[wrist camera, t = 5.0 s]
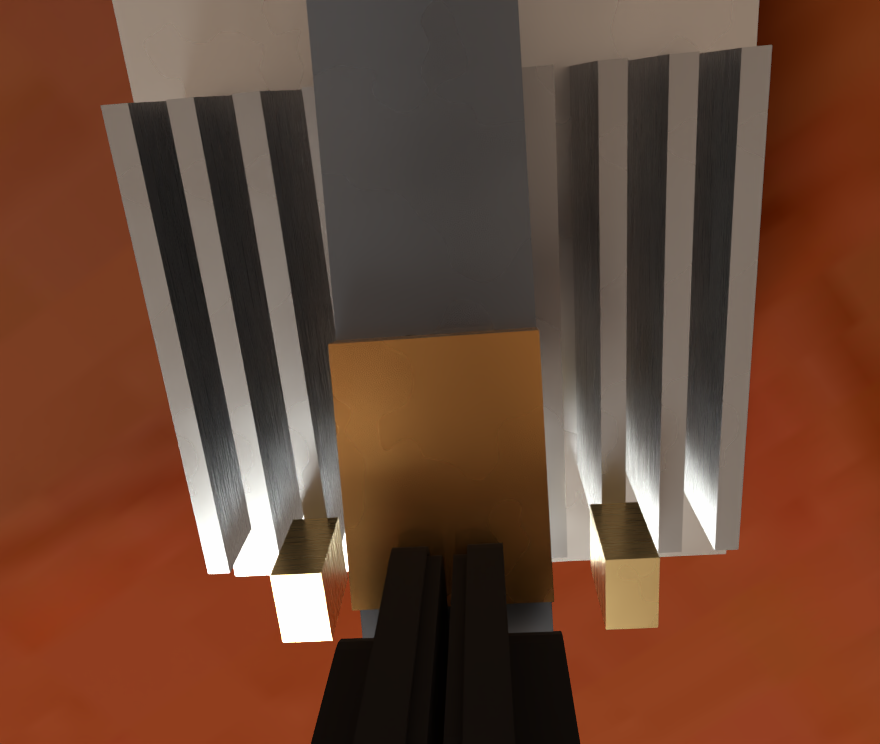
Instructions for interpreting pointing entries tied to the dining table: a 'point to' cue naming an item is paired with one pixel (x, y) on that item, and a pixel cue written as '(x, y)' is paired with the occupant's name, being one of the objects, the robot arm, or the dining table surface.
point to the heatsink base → (554, 272)
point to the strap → (432, 291)
